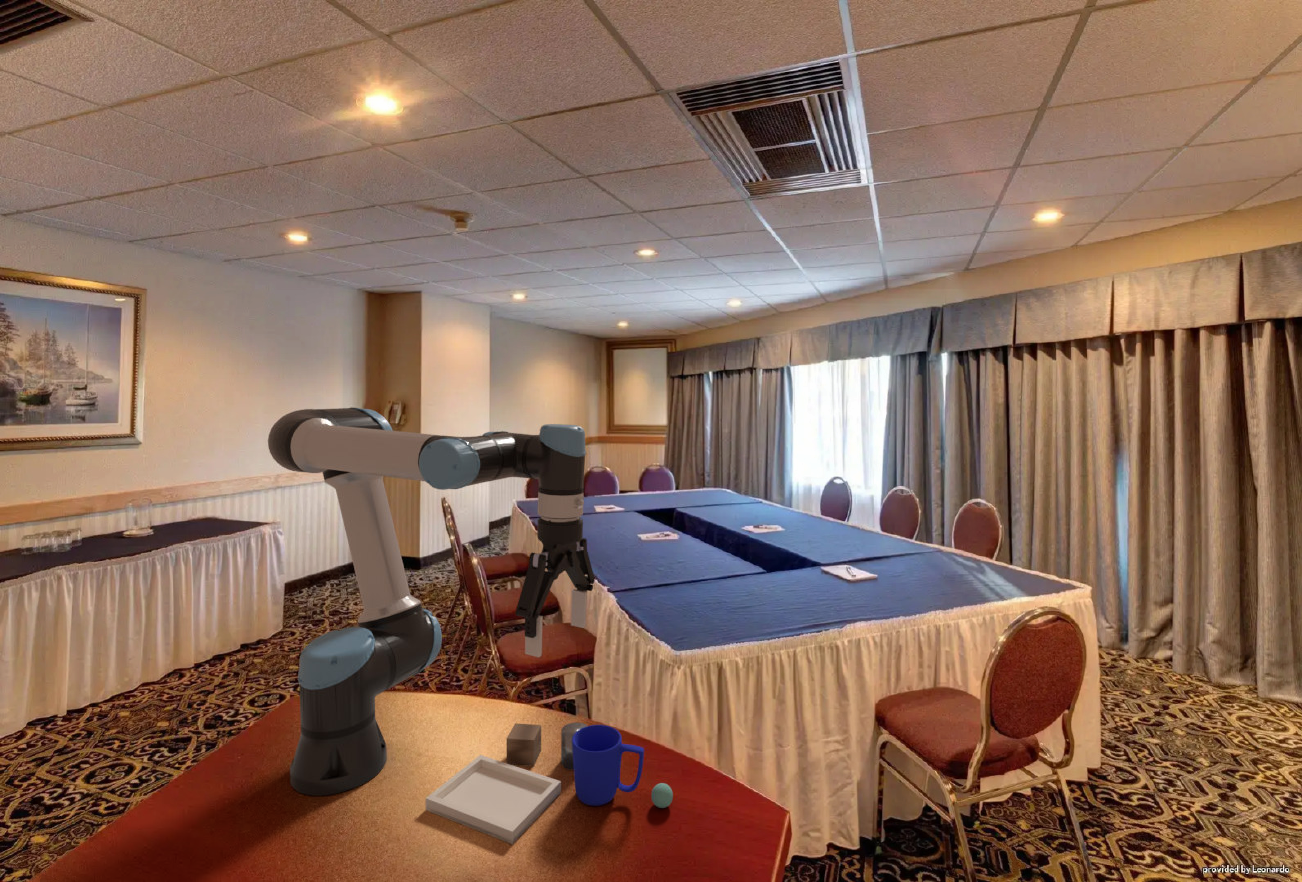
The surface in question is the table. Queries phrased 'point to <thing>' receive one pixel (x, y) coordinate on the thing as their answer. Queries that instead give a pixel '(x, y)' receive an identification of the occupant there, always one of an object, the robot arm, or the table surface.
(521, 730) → the walnut block
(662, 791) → the ball
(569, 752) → the tin
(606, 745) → the mug
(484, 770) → the tray
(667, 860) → the table surface
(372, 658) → the robot arm
